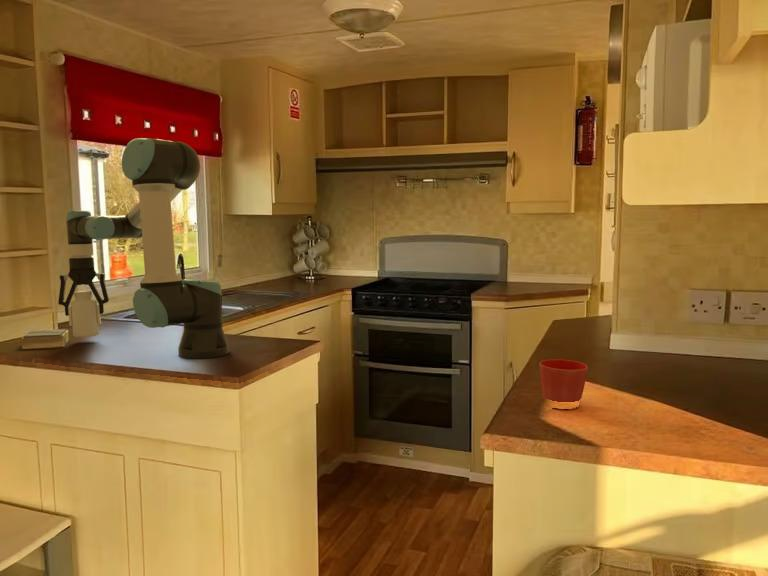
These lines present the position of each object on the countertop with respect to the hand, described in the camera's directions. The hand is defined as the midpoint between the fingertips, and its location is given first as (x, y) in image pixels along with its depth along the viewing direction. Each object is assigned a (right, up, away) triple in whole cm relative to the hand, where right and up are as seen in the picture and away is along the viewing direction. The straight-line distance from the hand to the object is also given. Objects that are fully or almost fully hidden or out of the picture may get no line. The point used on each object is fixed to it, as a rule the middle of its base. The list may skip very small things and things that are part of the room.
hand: (85, 324), depth 220 cm
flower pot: (+142, -15, -70) cm, 159 cm away
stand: (-12, -6, -3) cm, 14 cm away
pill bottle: (0, -4, 0) cm, 4 cm away
